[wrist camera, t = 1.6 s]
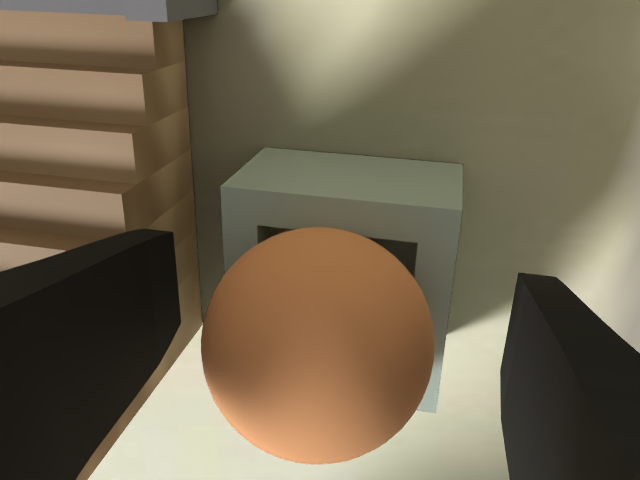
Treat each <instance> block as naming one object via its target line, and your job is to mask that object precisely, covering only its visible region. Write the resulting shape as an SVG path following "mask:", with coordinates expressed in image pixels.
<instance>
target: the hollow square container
mask: <svg viewBox="0 0 640 480" xmlns="http://www.w3.org/2000/svg"><path fill="white" fill-rule="evenodd" d="M220 192H221V214H222V236H223V258H224V275H225V273H226V272H227V271H228V269H229V268H230V267H231V266H232V265H233V264H234V263H235V262H236V261H237V260H238V259H239V258H240V257H241V256H242V255H243V254H244V253H246V252H247V251H249V250H250V249H251V248H253V247H254V246H256V245H257V244H259V243H261V242H263V241H265V240H266V239H268V238H270V237H272V236H275V235H278V234H281V233H283V232H287V231H292V230H296V229H301V228H310V227H327V228H335V229H341V230H346V231H349V232H352V233H356V234H359V235H361V236H363V237H366V238H368V239H370V240H372V241H374V242H375V243H377V244H379V245H381V246H382V247H384V248H385V249H386V250H388V251H389V252H390V253H392V254H393V255H394V256H395V257H396V258H397V259H398V260H399V261H400V262H401V263H402V264H403V265H404V266H405V267H406V268H407V270H408V271H409V272H410V273H411V275H412V276H413V277H414V279H415V280H416V282H417V284H418V285H419V287H420V289H421V290H422V292H423V295H424V297H425V299H426V302H427V304H428V307H429V311H430V314H431V318H432V322H433V328H434V337H435V354H434V363H433V368H432V373H431V377H430V381H429V384H428V387H427V389H426V392H425V394H424V396H423V399H422V401H421V403H420V404H419V406H418V408H417V409H416V410H418V411H424V412H431V413H436V408H437V401H438V393H439V386H440V378H441V370H442V363H443V355H444V348H445V340H446V332H447V325H448V317H449V309H450V302H451V294H452V287H453V279H454V271H455V264H456V256H457V249H458V241H459V233H460V226H461V218H462V211H463V164H456V163H444V162H432V161H421V160H409V159H397V158H385V157H373V156H362V155H350V154H338V153H326V152H314V151H303V150H291V149H279V148H267V147H265V148H263V149H262V150H261V151H260V152H259V153H258V154H257V155H255V156H254V157H253V158H252V159H251V160H250V161H249V162H247V163H246V164H245V165H244V166H243V167H242V168H241V169H239V170H238V171H237V172H236V173H235V174H234V175H233V176H232V177H230V178H229V179H228V180H227V181H226V182H225V183H224V184H222V185H221V186H220Z"/></svg>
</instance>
